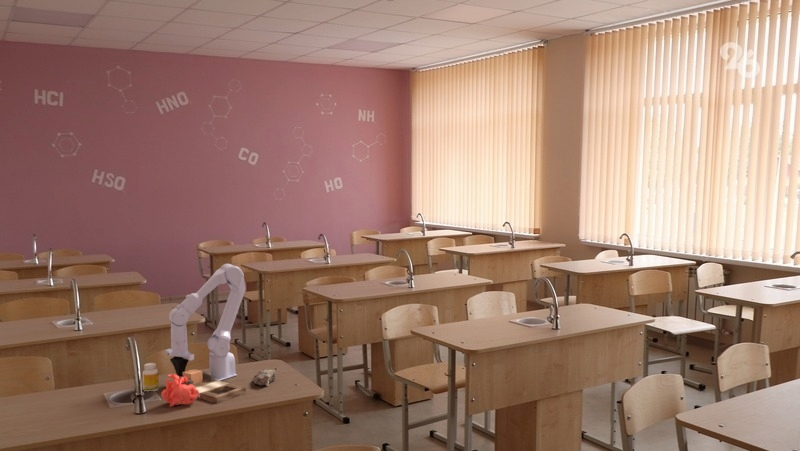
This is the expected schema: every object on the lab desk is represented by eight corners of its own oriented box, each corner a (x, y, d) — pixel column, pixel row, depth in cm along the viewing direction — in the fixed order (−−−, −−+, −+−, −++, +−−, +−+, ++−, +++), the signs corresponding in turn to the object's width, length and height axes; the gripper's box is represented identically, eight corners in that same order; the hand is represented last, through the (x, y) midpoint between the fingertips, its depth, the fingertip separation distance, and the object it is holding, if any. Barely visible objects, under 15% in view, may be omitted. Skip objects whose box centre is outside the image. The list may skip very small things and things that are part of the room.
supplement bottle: (141, 389, 250) (140, 364, 249) (155, 386, 253) (154, 361, 252) (146, 393, 246) (145, 367, 245) (161, 390, 249) (160, 364, 248)
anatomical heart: (199, 409, 233) (198, 379, 229) (162, 414, 229) (161, 384, 225) (197, 395, 241) (196, 366, 237) (161, 399, 237) (160, 370, 233)
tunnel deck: (196, 379, 261) (195, 368, 260) (246, 393, 244) (245, 380, 244) (167, 389, 250) (166, 377, 250) (217, 403, 234) (216, 390, 234)
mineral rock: (260, 375, 266) (260, 364, 265) (280, 376, 264) (280, 365, 264) (246, 388, 251) (246, 376, 251) (267, 388, 250) (267, 377, 249)
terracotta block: (194, 379, 255) (193, 368, 255) (202, 381, 252) (202, 370, 252) (182, 382, 251) (182, 372, 251) (191, 385, 248) (191, 374, 248)
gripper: (158, 340, 256) (159, 375, 257) (182, 345, 247) (183, 382, 248) (174, 336, 261) (175, 371, 262) (198, 341, 253) (199, 377, 254)
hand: (180, 376), depth 256 cm, fingers closed
